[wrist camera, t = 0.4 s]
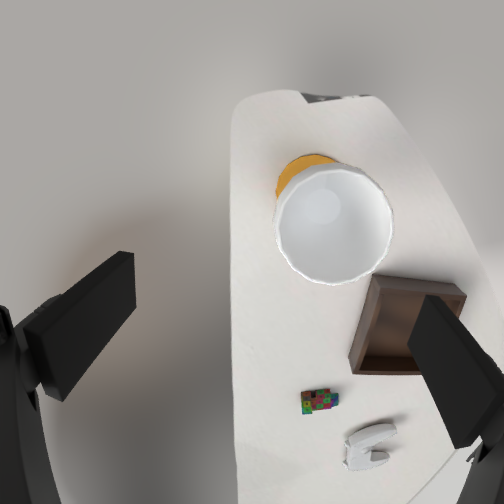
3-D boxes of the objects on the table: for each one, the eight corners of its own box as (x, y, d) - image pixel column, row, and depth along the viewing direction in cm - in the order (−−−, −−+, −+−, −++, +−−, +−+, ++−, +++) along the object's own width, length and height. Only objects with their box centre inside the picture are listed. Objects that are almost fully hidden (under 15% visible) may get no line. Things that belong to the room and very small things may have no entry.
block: (302, 407, 47) (303, 422, 44) (301, 392, 46) (301, 407, 43) (338, 403, 46) (340, 418, 43) (338, 387, 45) (340, 402, 42)
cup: (274, 228, 37) (268, 287, 22) (276, 152, 34) (272, 158, 19) (348, 232, 37) (388, 291, 22) (354, 157, 34) (405, 169, 19)
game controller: (390, 465, 48) (346, 481, 48) (382, 451, 53) (340, 466, 52) (401, 428, 44) (350, 447, 43) (391, 412, 48) (342, 430, 48)
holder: (372, 274, 38) (380, 287, 34) (454, 283, 38) (467, 296, 34) (347, 357, 43) (352, 374, 39) (424, 359, 42) (432, 374, 38)
